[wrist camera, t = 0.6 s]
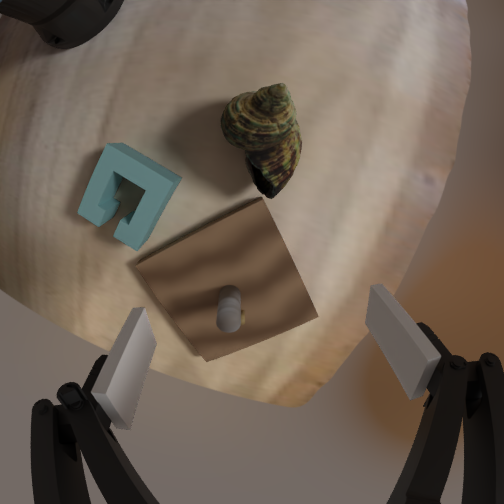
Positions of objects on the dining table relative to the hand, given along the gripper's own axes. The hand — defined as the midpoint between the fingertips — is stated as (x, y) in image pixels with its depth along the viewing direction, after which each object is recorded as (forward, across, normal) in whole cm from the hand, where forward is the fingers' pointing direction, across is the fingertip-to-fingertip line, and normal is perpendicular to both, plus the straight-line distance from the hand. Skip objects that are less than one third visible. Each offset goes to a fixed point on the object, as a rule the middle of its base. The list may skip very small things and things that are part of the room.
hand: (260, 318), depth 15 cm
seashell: (+24, +2, +10) cm, 26 cm away
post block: (+24, -4, -11) cm, 26 cm away
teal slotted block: (+24, -15, +5) cm, 29 cm away
